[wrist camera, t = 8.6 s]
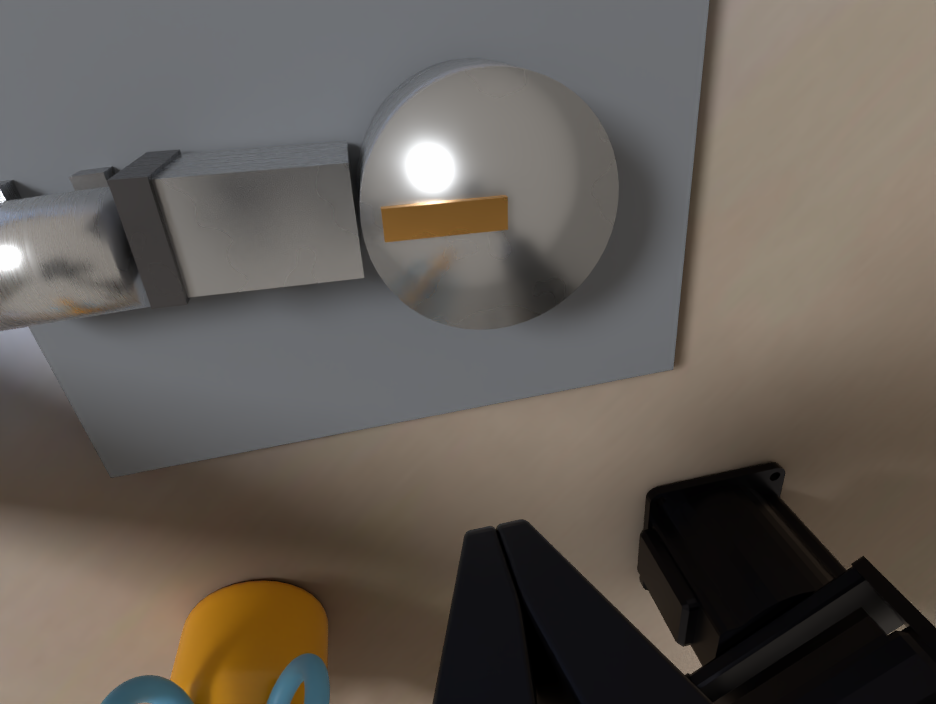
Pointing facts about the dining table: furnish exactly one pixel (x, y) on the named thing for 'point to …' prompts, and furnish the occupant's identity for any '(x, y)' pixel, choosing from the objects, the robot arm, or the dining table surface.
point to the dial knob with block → (394, 202)
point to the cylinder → (244, 651)
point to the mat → (346, 119)
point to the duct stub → (65, 254)
